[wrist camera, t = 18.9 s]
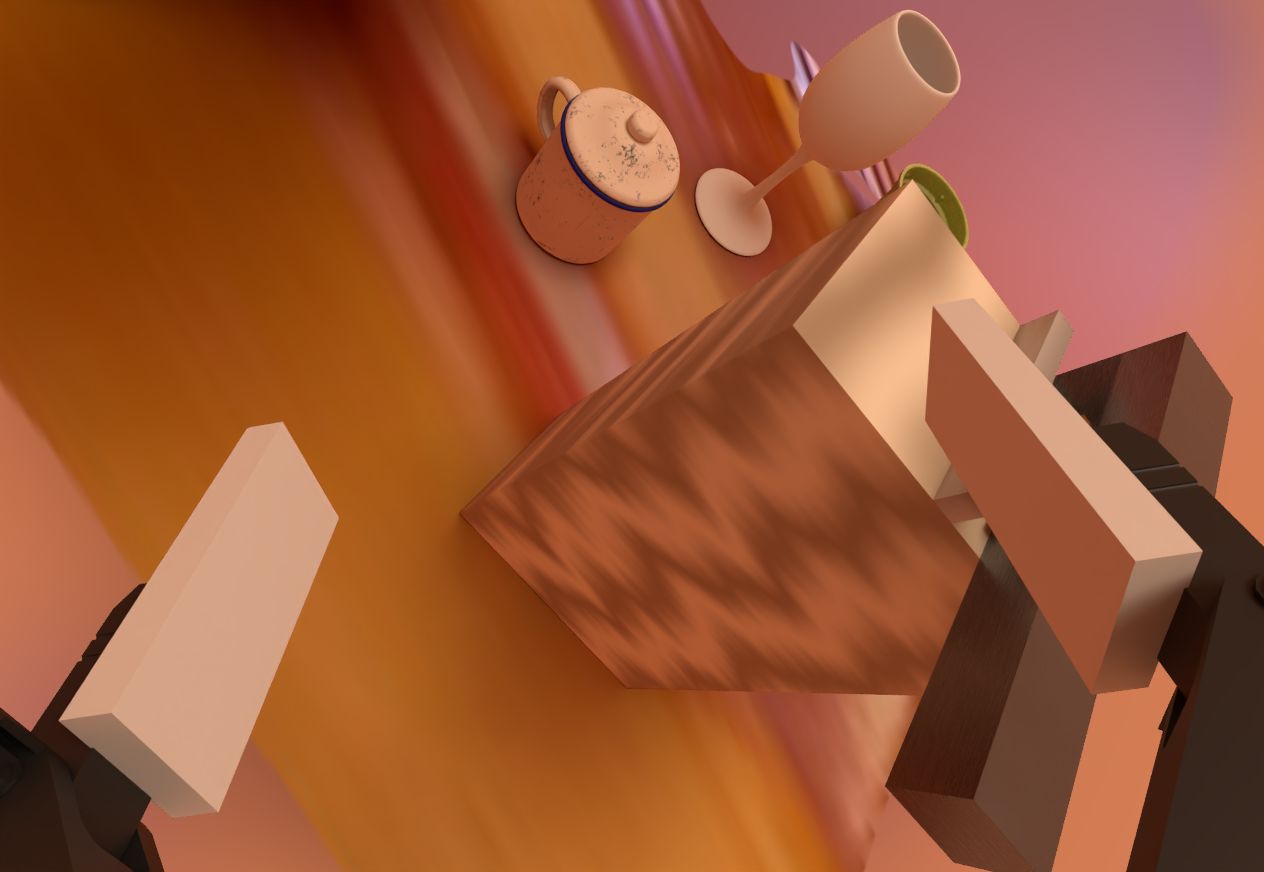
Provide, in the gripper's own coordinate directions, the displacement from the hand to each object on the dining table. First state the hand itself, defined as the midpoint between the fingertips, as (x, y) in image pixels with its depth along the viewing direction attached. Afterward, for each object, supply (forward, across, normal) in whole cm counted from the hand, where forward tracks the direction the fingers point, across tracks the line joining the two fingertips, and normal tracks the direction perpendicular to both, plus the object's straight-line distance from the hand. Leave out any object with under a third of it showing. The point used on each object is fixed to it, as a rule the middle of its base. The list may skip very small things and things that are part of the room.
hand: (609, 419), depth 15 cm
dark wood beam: (+4, +11, -11) cm, 16 cm away
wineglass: (+53, +8, -17) cm, 56 cm away
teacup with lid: (+44, -6, -10) cm, 46 cm away
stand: (+23, -6, -27) cm, 36 cm away
